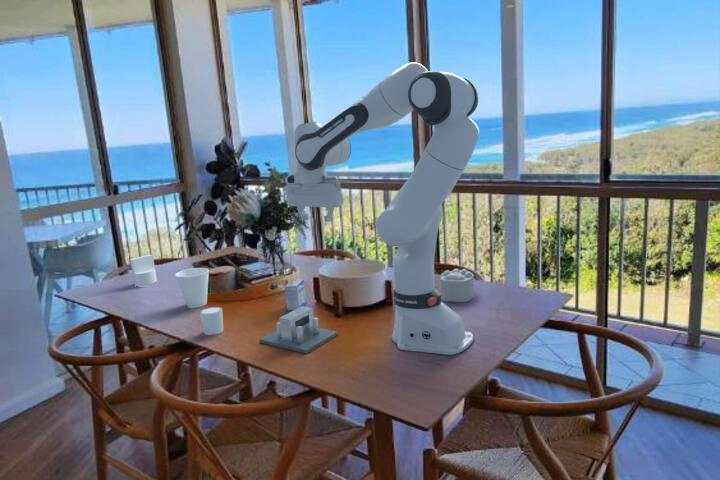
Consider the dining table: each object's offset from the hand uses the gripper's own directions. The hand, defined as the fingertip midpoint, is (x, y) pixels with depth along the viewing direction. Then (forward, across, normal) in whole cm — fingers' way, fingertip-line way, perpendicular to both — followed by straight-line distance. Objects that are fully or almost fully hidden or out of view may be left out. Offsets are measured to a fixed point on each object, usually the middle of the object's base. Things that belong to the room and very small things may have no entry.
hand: (316, 220), depth 163 cm
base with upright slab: (+32, +96, +2) cm, 101 cm away
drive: (+30, -5, +19) cm, 36 cm away
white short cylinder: (+31, +24, +26) cm, 47 cm away
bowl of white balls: (+31, -32, -33) cm, 56 cm away
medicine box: (+31, +14, -2) cm, 34 cm away
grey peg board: (+31, -5, +19) cm, 37 cm away
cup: (+31, +51, +11) cm, 61 cm away
